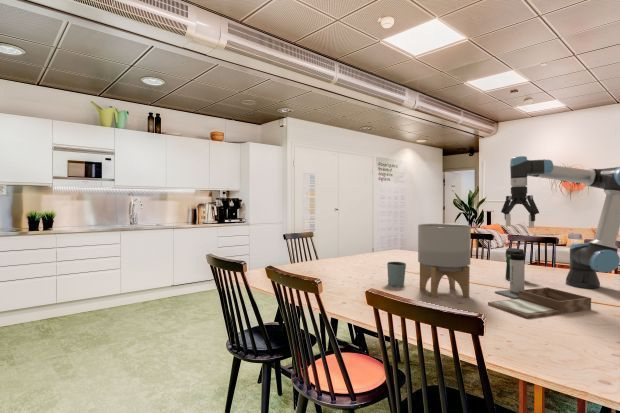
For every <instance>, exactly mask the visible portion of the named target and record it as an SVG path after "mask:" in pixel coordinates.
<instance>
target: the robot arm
mask: <svg viewBox="0 0 620 413" xmlns="http://www.w3.org/2000/svg"><path fill="white" fill-rule="evenodd" d="M510 158H511V159H510V160H509V161H510V164H509V168H510V170H509V171H510V194H511V195H506V196H505V201H504V204H503V205H502V208H501V211H500V212H501V213H503V214H504V220H505V227H511V226H512V225H511V224H512V223H511V221H512V220H511V219H512V218H511V216H512V215H511V211H512V210H513V209H514V207H515V206H516V205H522V206H523V207H524V209H526V211H527V212H528V213H529V215H528V229H533V228H535V222H536V215H538V214H540V210H539V209H538V207H537V204H536V203H535V201H534V195H533V194H531V195H527V194H528V177H532V178H533V177H535V178H540V179H541V178H542V179H546V180H549V179H550V180H555V181H556V180H557V181H563V182H570V183H579V184H583V185H585V186H586V187H591V188H595V189H602V190H603V192H604V194H605V198H604V201H603V202H604V203H603V206H602V209H601V213H600V216H599V220H598V224H597V228H596V232H595V234H594V238H593V240H590V241H589V242H588V243H587V242H586V243H582V242H581V243H574V242H573V243H571V244H569V245H570V246H569V271H568V272H567V275H566V277H565V285H568V286H571V287H575V288H583V289H599V288H601V282H600V279H599V276H598V274H597V272H599V273H610V272H613V271H614V270H616V269H617V268H618V267H619V266H620V256H619V254H618V250H619V247H618V246H617V245H616V242H617V239H618V235H619V231H620V166H616V167H608V168H607V167H606V168H589V169H582V168H577V167H569V166H568V167H567V166H563V165H554V163H553V161H552V160H551V159H545V158H544V159H534V160H532V159H528V157H527V156H523V155H521V156H513V157H510Z"/></svg>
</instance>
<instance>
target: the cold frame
mask: <svg viewBox="0 0 620 413" xmlns="http://www.w3.org/2000/svg"><path fill="white" fill-rule="evenodd" d="M487 305H488V306H491V307H492V308H496V309H499V310H502V311H503V312H507V313H510V314H513V315H515V314H516V315H515V316H519V317H522V318H524V319H527V320H529V319H533V318H534V319H535V318H541V317H549V316H553V315H554V316H555V315H562V314H563V315H564V314H571V313H577V312H584V311H585V312H586V311H590V310H592V298H591V297H589V296H585V295H581V294H576V293H572V292H569V291H568V292H567V291H564V290H560V289H556V288H552V287H547V286H546V287H540V288H539V287H538V288H530V289H529V288H528V289H527V288H526V289H524V290H519V299H513V298H510V299H503V300H495V301H489V302H488V301H487Z"/></svg>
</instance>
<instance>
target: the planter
mask: <svg viewBox="0 0 620 413" xmlns="http://www.w3.org/2000/svg"><path fill="white" fill-rule="evenodd" d="M417 226H418V227H417V230H418V231H417V261H418V263H419V290H423V291H425V290H426V289H427V284H428V281H429V280H430V298H432V299H436V298H437V297H438V288H439V284H440V282H441V280H442V278H443V277H444V276H446V277H447V279H448V284H449V289H450V290H455V289H456V283H457V284H458V285H459V287H460V289H461V292H462V297H463V298H467V299H468V298H470V276H471V275H470V274H471V273H470V269H471V268H470V266H471V249H472V248H471V245H472V244H471V241H472V240H471V233H472V232H471V231H472V229H471V225H469V224H460V223H420V224H418V225H417Z"/></svg>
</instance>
